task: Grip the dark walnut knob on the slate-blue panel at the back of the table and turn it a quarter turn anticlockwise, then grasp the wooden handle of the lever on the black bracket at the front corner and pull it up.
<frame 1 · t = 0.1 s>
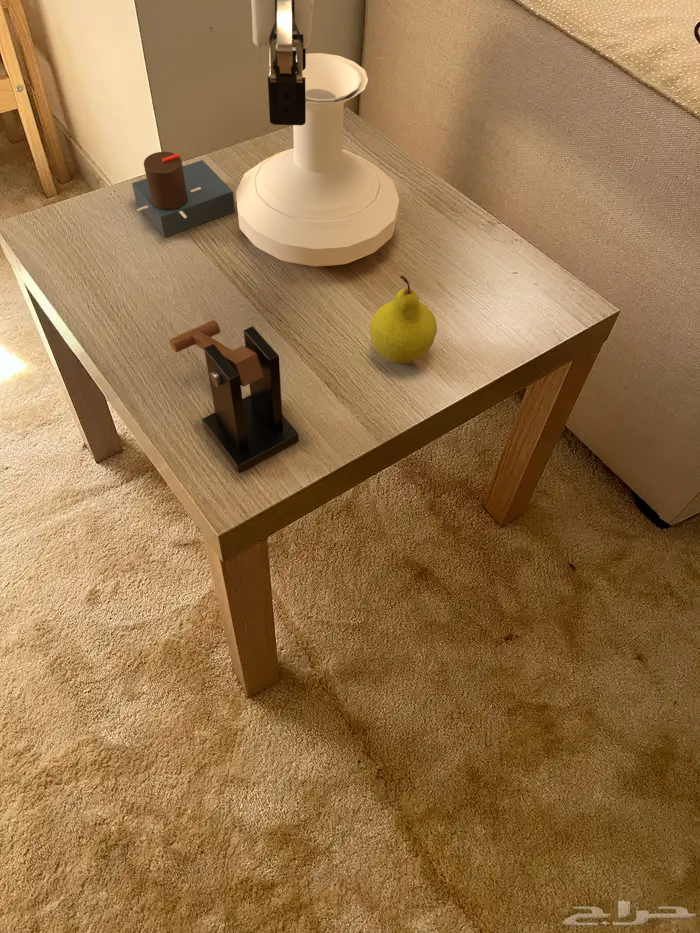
hand: (288, 94, 66), 22 cm above the table, tool pointing down, fingers open, 9 cm apart
lever: (219, 351, 66), point 8 cm above the table, hinge at -25.0°
white vase: (317, 233, 89), on the table
panel: (185, 207, 91), on the table
fruit: (400, 355, 78), on the table
knob: (166, 180, 85), point 6 cm above the table, hinge at 0.0°
bracket: (250, 433, 71), on the table
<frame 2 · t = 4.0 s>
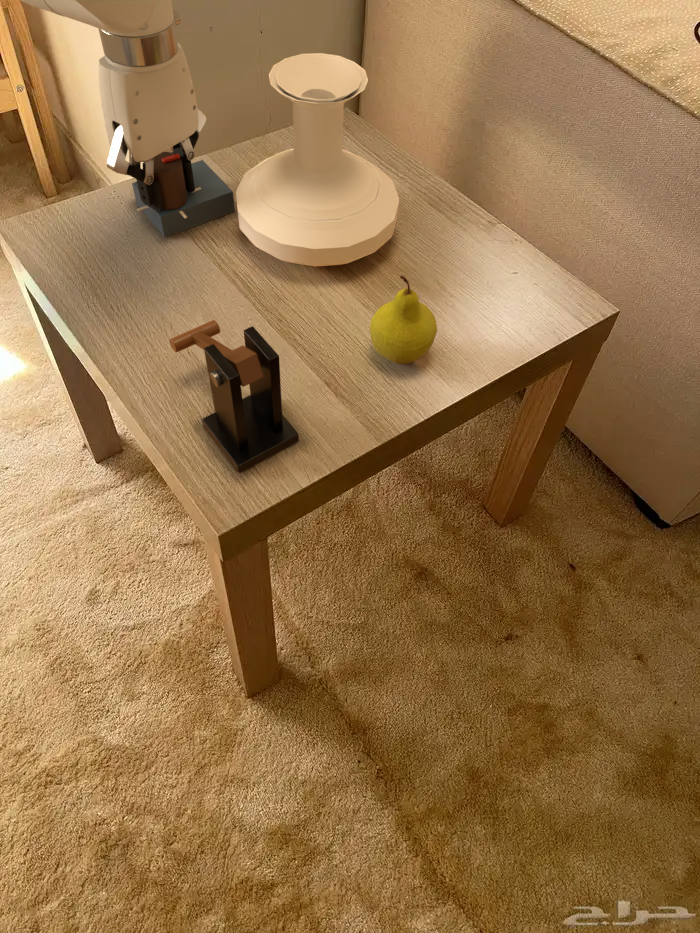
hand: (168, 195, 86), 4 cm above the table, tool pointing down, fingers closed on knob, 4 cm apart
knob: (166, 180, 85), point 6 cm above the table, hinge at -0.1°, touching gripper
everything else where it was.
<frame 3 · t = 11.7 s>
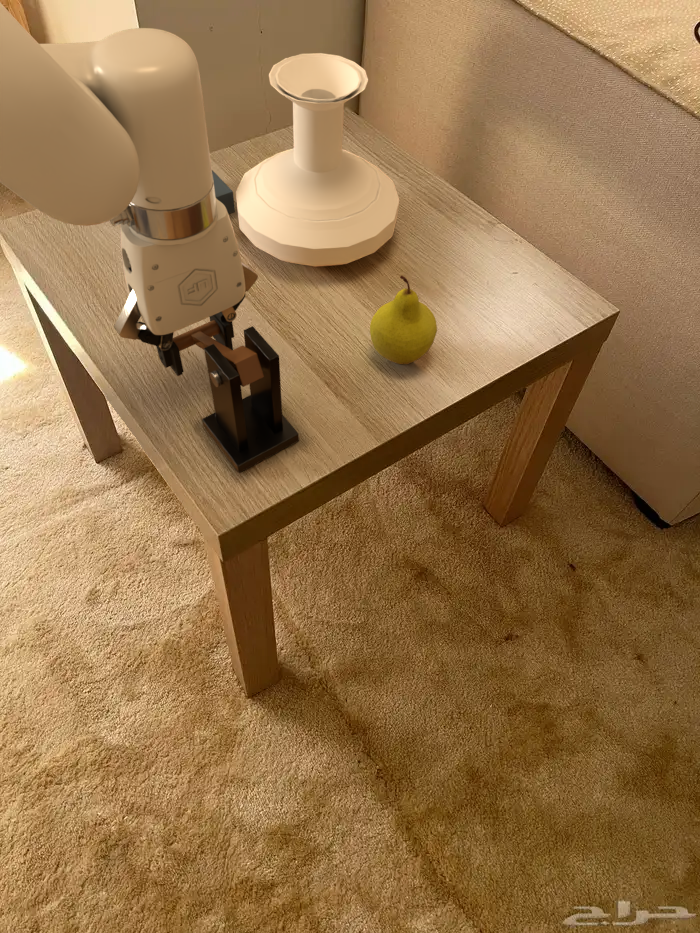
hand: (198, 353, 73), 3 cm above the table, tool pointing down, fingers closed on lever, 5 cm apart
lever: (219, 351, 66), point 8 cm above the table, hinge at -25.0°, touching gripper
knob: (166, 180, 85), point 6 cm above the table, hinge at 90.8°
everything else where it was.
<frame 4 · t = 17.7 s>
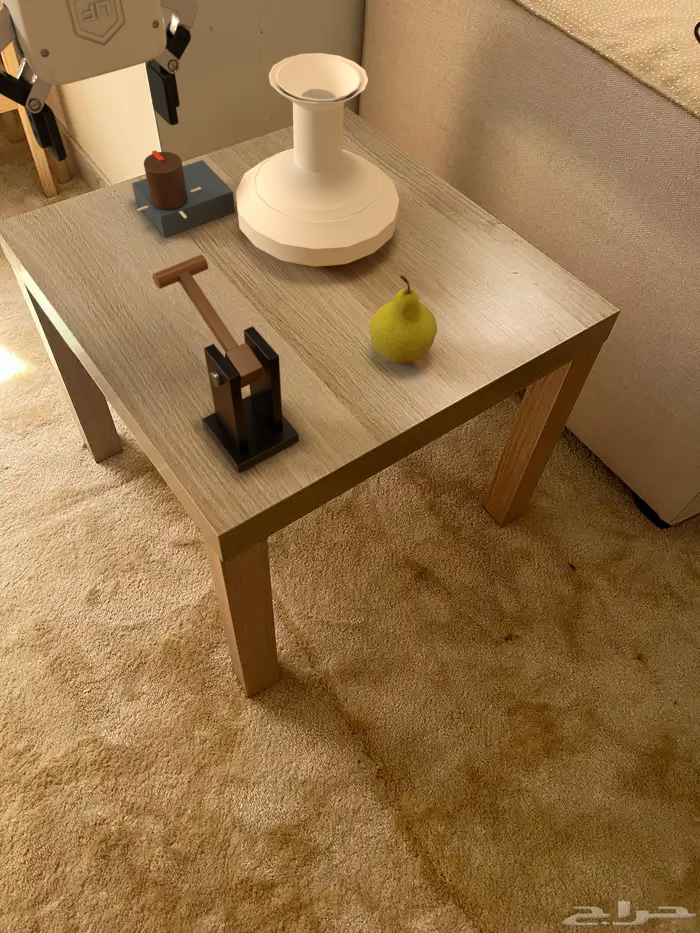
hand: (112, 134, 57), 24 cm above the table, tool pointing down, fingers open, 9 cm apart
lever: (213, 320, 63), point 11 cm above the table, hinge at 16.6°
everything else where it was.
at the end: knob at +91° (first picture: +0°); lever at +17° (first picture: -25°) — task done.
